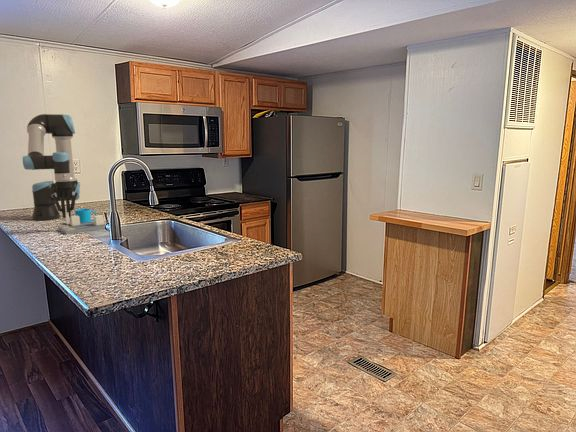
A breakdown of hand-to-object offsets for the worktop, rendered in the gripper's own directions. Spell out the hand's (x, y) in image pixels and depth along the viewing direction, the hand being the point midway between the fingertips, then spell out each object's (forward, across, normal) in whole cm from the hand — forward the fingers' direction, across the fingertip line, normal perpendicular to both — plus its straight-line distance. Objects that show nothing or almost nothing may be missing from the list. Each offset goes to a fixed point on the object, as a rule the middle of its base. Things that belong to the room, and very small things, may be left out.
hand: (67, 223), depth 225 cm
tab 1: (+2, +4, 0) cm, 4 cm away
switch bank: (+4, +9, -4) cm, 10 cm away
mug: (+4, +15, +15) cm, 21 cm away
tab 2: (+2, +14, -8) cm, 16 cm away
